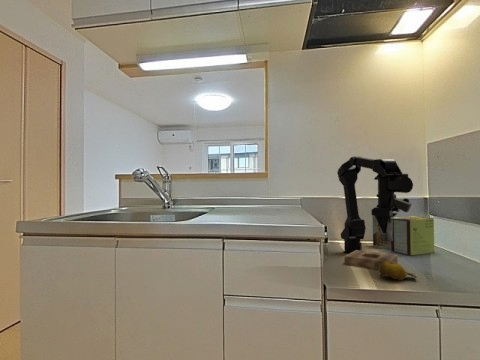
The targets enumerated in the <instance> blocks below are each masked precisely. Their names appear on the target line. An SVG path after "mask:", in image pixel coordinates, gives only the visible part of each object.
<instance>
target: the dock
mask: <svg viewBox="0 0 480 360" xmlns="http://www.w3.org/2000/svg"><path fill="white" fill-rule="evenodd" d="M343 258H344V259H343V260H344V261H343V262H344V265H347V266H348V265H349V266H355V267H361V268H367V269H374V270H380V267H381V265H382V264H383V263H384V262H393V263H395V264H398V254H392V253H391V254H390V253H384V252H383V253H382V252H375V251H368V250H362V251H361V250H355V251H353V252H351V253H350V254H349V253H347V254H346V255H344V256H343Z"/></svg>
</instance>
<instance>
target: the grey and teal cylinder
mask: <svg viewBox="0 0 480 360" xmlns="http://www.w3.org/2000/svg"><path fill="white" fill-rule="evenodd" d="M391 215H392V217H391V218H390V219H389V221H388V227H387V232H386V233H383V232H382V230H381V227H380V240H382V241H393V218H394V217H393V214H391Z"/></svg>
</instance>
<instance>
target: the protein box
mask: <svg viewBox="0 0 480 360" xmlns="http://www.w3.org/2000/svg"><path fill="white" fill-rule="evenodd" d="M434 220H435V219H434V218H433V217H427V216H426V217H425V216H416V215H409V216H399V217H397V216H394V217H393V241H391V249H390V251H391V252H394V253H398V254H403V255H405V256H407V255H408V256H417V255H424V254H431V253H435V221H434Z"/></svg>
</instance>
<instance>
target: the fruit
mask: <svg viewBox="0 0 480 360" xmlns="http://www.w3.org/2000/svg"><path fill="white" fill-rule="evenodd" d="M379 275H380V277H382V276H383V277H385V276H388V277H390V278H392V280H398V281H399V280H400V281H402V280H404V279H406V276H407V275H408V276H410V277H412V278H413V279H416V278H417V277H418V275H417V274H415V273H411V272H408V271H406V270H405V268H404V267H403V266H402V265H401V264H399V263H397V264H395V263H393V262H384V263H383V264H382V265H381V267H380V269H379Z"/></svg>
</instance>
